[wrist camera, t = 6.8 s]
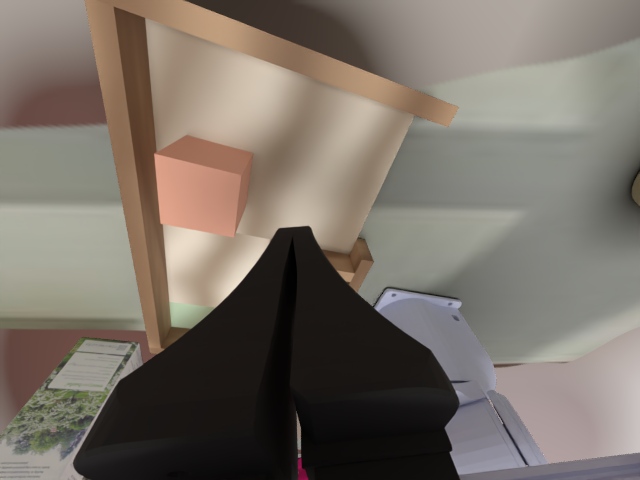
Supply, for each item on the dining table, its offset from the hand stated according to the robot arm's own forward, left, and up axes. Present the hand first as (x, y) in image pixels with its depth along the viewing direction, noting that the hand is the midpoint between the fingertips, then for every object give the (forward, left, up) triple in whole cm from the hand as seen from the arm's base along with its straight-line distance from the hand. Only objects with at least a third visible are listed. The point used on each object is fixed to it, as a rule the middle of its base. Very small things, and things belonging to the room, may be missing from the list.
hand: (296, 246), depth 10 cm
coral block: (+5, +1, -8) cm, 10 cm away
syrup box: (+15, +26, -9) cm, 32 cm away
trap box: (+1, +7, -9) cm, 11 cm away
